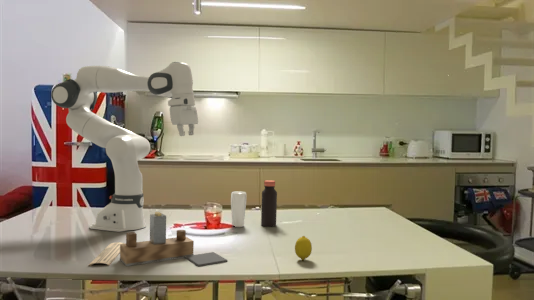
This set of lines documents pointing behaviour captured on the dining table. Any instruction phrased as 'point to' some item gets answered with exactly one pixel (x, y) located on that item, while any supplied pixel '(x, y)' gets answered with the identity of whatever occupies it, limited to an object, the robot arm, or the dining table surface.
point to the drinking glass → (238, 208)
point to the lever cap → (157, 228)
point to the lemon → (303, 247)
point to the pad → (206, 259)
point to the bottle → (269, 204)
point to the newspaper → (108, 254)
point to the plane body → (155, 249)
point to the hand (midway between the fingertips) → (186, 135)
